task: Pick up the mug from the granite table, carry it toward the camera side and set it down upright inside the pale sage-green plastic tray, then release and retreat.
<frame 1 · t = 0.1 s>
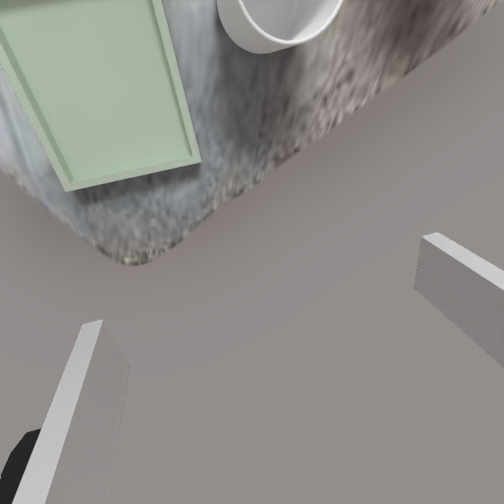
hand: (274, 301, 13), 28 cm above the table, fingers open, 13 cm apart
tray: (105, 84, 31), on the table
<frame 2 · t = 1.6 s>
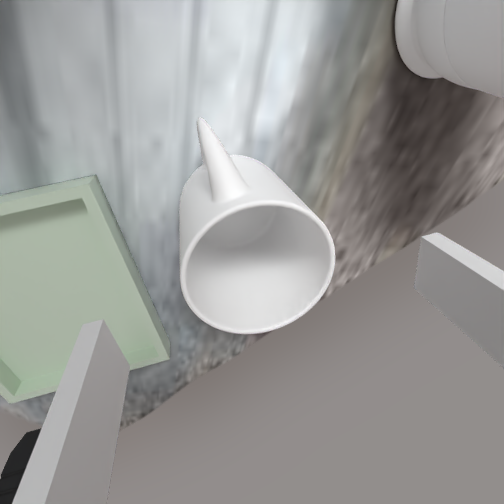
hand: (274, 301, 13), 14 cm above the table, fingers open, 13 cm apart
mug: (224, 185, 25), on the table
tray: (52, 295, 26), on the table
jar: (444, 9, 22), on the table
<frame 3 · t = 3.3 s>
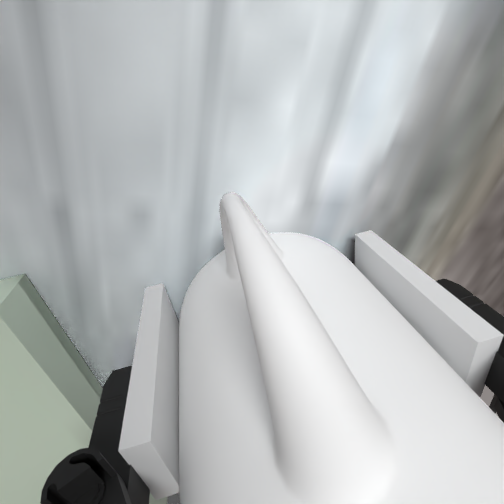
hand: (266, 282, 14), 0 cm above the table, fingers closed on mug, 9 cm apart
mug: (258, 276, 14), on the table, touching gripper
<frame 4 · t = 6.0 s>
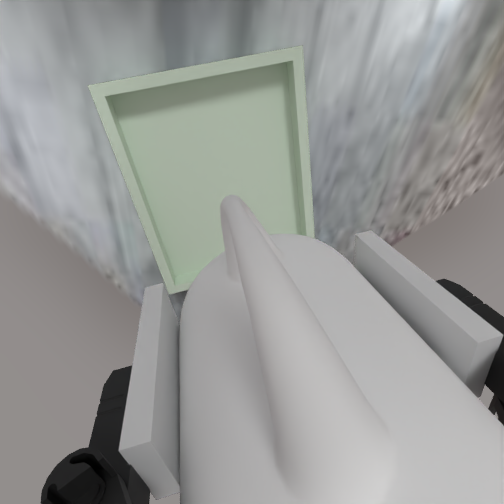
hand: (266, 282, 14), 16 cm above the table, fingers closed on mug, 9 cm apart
mug: (258, 277, 14), point 15 cm above the table, touching gripper
tray: (222, 181, 27), on the table
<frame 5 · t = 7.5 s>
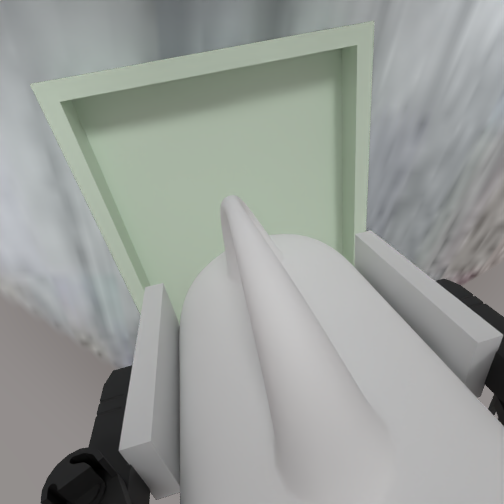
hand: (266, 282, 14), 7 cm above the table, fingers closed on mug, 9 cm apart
mug: (258, 277, 14), point 6 cm above the table, touching gripper
tray: (240, 218, 20), on the table
when the fingers open (3 cm above the table, at t = 8.8 s): mug drops 2 cm, resting on tray.
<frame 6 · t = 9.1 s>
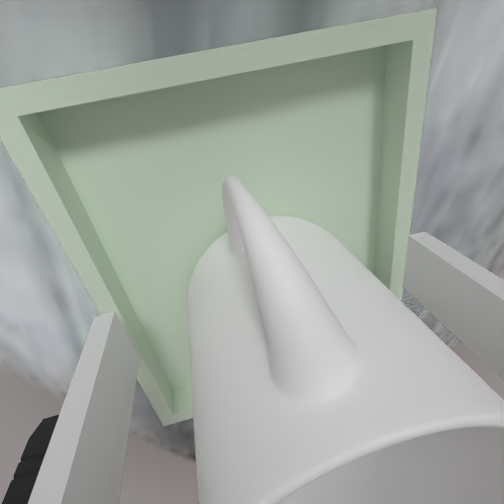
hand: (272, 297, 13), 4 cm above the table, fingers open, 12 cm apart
mug: (256, 257, 16), resting on tray
tray: (253, 252, 16), on the table
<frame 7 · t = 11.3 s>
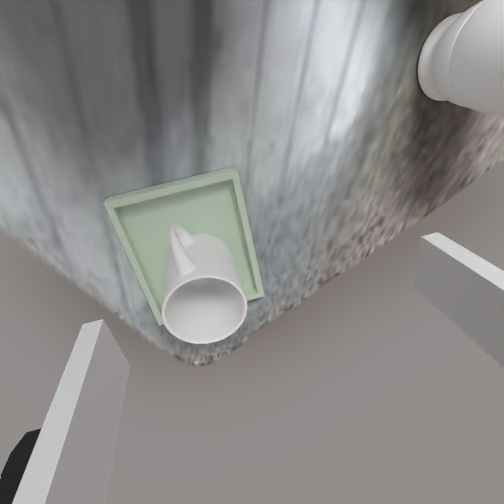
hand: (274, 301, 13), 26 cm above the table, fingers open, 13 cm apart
mug: (194, 249, 39), resting on tray
tray: (193, 247, 40), on the table
jar: (447, 59, 36), on the table
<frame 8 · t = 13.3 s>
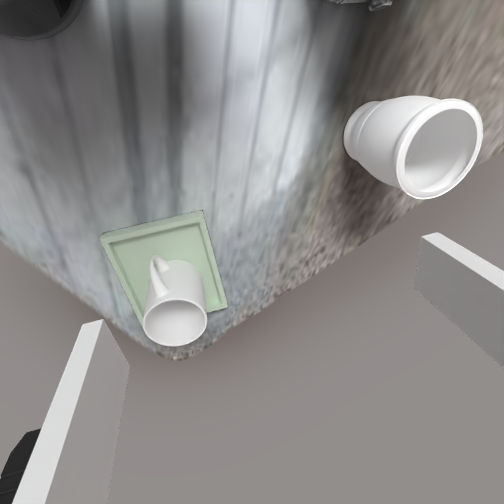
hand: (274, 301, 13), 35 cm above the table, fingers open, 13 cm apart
mug: (171, 271, 50), resting on tray
tray: (171, 269, 50), on the table
jar: (367, 132, 46), on the table
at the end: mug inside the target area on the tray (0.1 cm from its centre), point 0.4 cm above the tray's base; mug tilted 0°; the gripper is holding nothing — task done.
